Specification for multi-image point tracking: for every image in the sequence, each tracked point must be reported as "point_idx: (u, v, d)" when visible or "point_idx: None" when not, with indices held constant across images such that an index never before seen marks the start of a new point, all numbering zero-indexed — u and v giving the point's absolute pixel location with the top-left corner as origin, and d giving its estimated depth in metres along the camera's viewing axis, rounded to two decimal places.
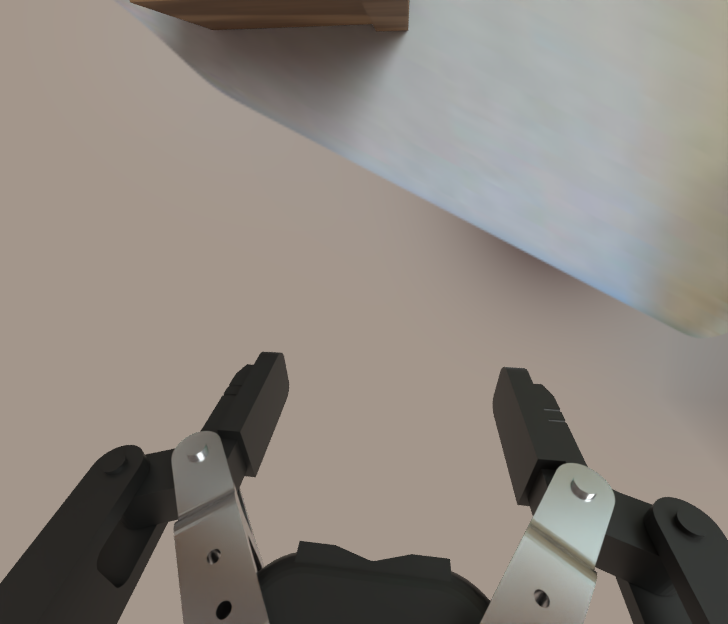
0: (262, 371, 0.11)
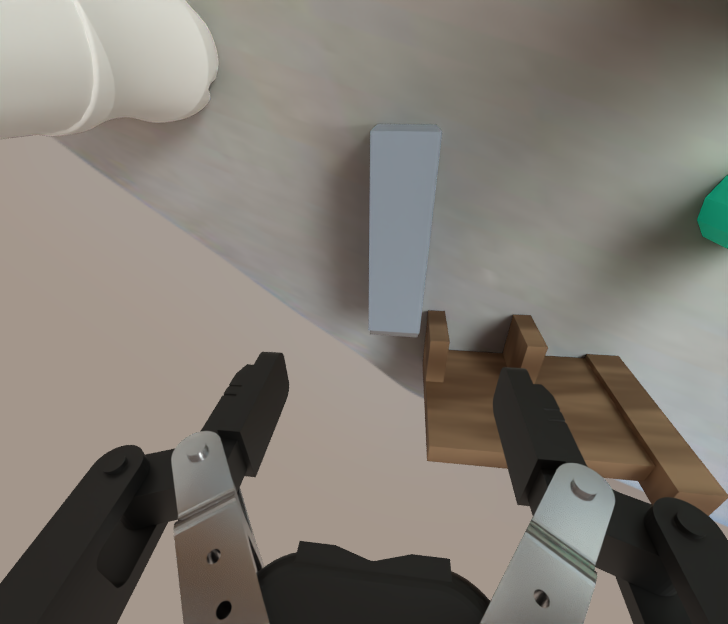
0: (262, 371, 0.11)
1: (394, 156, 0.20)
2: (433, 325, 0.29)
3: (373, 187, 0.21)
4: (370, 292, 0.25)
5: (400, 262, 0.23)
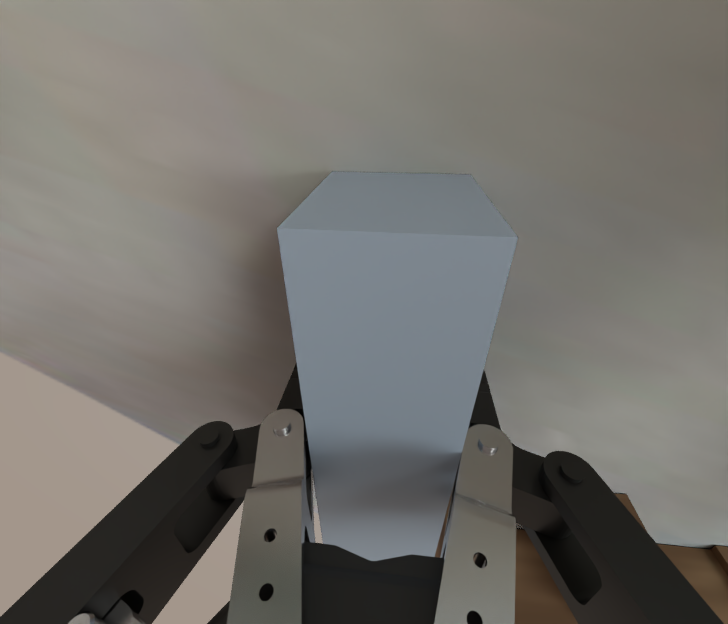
0: None
1: (360, 297, 0.06)
2: None
3: (305, 363, 0.07)
4: (323, 526, 0.12)
5: (386, 494, 0.10)
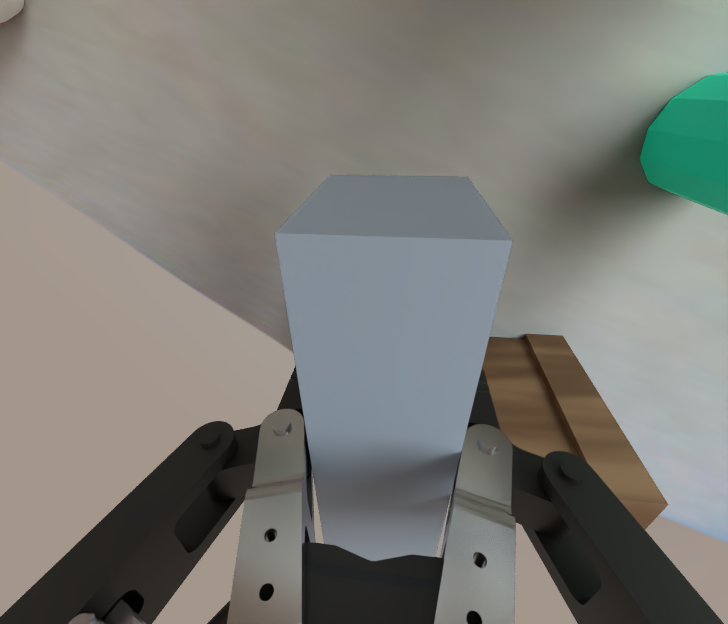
0: None
1: (358, 300, 0.06)
2: None
3: (304, 365, 0.07)
4: (324, 528, 0.12)
5: (386, 495, 0.10)
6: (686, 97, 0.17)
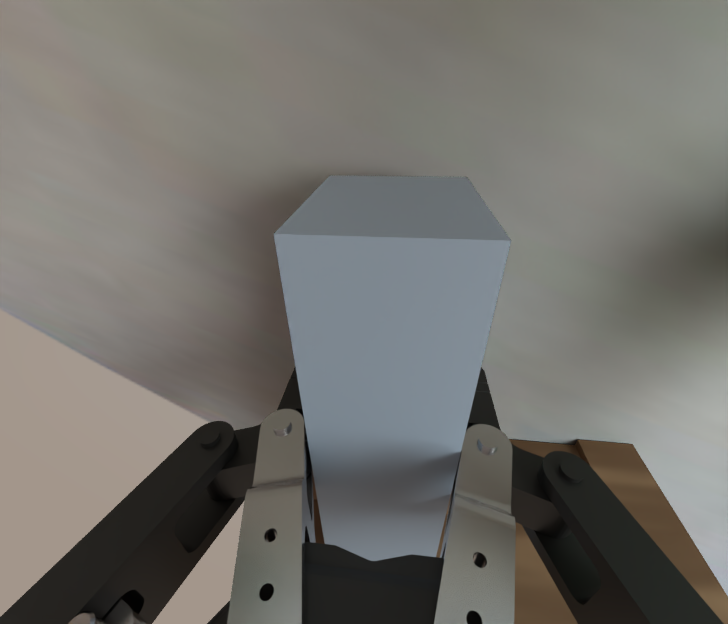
0: None
1: (357, 301, 0.06)
2: None
3: (303, 366, 0.07)
4: (325, 528, 0.12)
5: (387, 495, 0.10)
6: None
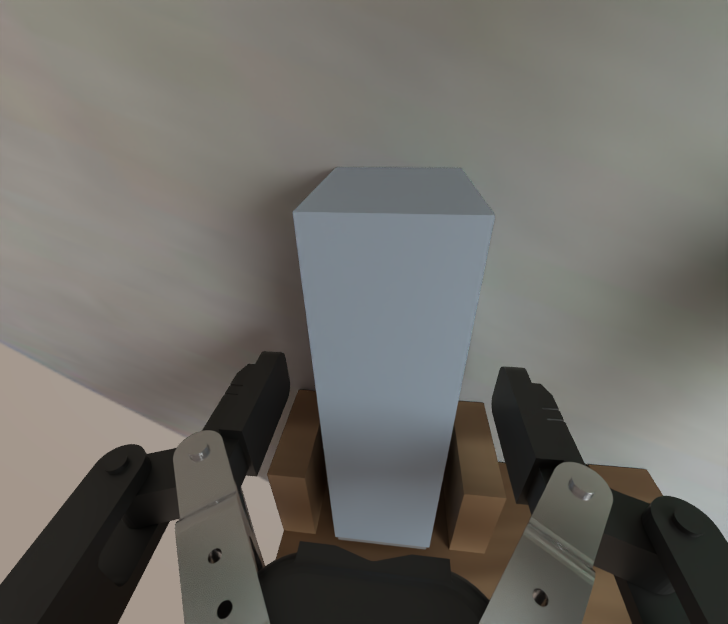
0: (263, 371, 0.11)
1: (364, 271, 0.07)
2: (292, 428, 0.15)
3: (315, 332, 0.08)
4: (332, 493, 0.13)
5: (389, 458, 0.11)
6: None
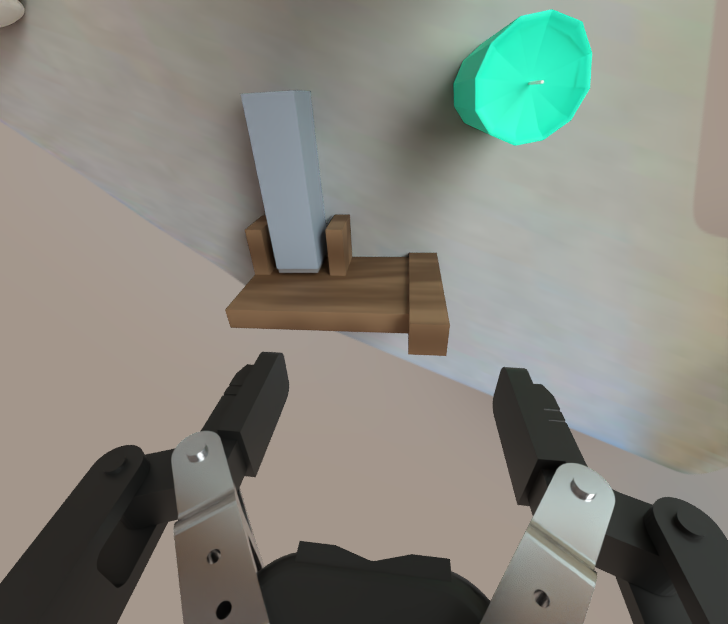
0: (262, 371, 0.11)
1: (263, 113, 0.25)
2: (257, 222, 0.32)
3: (252, 140, 0.26)
4: (270, 233, 0.30)
5: (288, 204, 0.28)
6: None
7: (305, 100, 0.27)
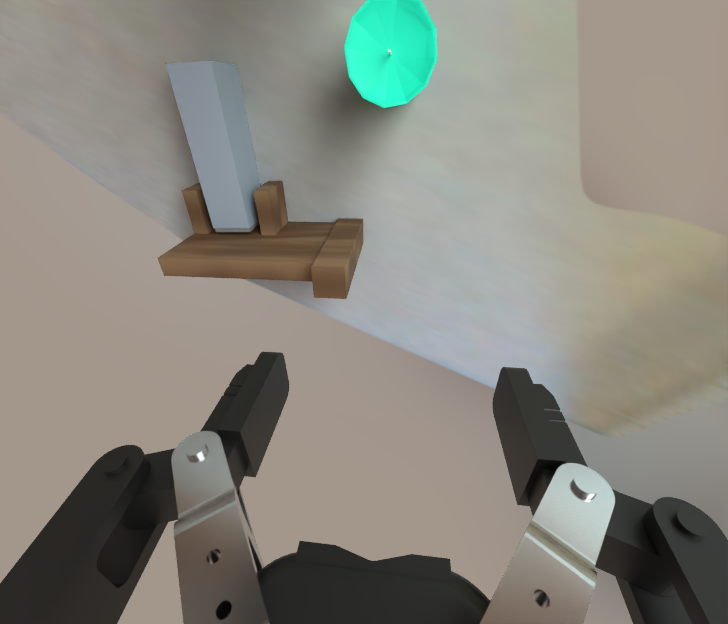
0: (262, 371, 0.11)
1: (186, 81, 0.28)
2: (196, 185, 0.36)
3: (179, 106, 0.29)
4: (204, 194, 0.33)
5: (217, 167, 0.32)
6: None
7: (228, 72, 0.30)
